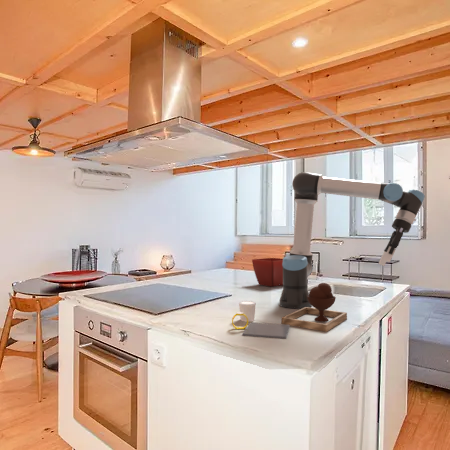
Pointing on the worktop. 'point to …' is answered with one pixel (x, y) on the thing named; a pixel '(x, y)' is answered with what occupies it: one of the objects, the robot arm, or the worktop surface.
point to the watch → (240, 315)
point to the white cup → (247, 310)
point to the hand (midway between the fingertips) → (383, 263)
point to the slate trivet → (267, 330)
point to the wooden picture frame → (292, 321)
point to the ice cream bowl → (321, 300)
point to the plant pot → (268, 271)
